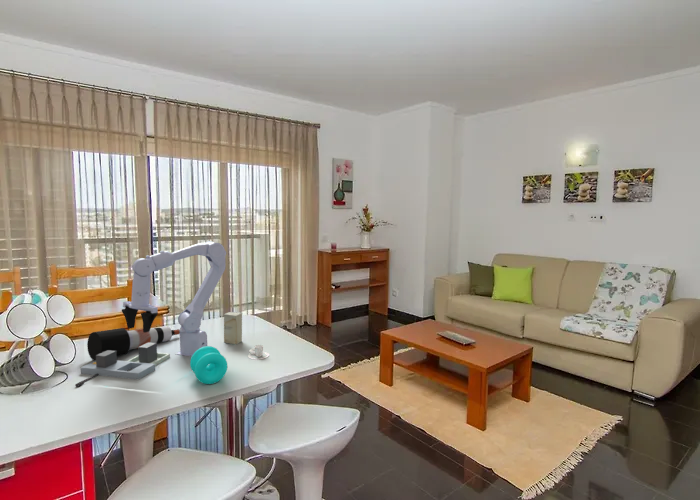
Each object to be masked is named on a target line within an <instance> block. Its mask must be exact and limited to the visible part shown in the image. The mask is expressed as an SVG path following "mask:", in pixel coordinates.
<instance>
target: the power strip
mask: <svg viewBox="0 0 700 500" xmlns="http://www.w3.org/2000/svg"><path fill="white" fill-rule="evenodd" d="M130 369H131V370H130ZM154 371H156V366H155V364H150V363H140V362H130V361H128V360H118V356H117V353H116V351H111V350H107V351H105V352H102V353H100V354H98V355H96V361H95V360H93V361H92V362H90V363H87V364H85V365H83V366H81V367H80V373H81V374H84V375H91V376H90V377H88V378H86V379H84V380H81V381H79V382H77V383H75V384H74V386H75V388H77V387H80V386H82V385H84V384H85V383H87V382H88V381H90V380H92V379H95V378H96V377H99V376H102V377H112V378H121V379H131V380H140V379H142V378H143V377H145V376H147V375H149V374H150V373H152V372H154Z"/></svg>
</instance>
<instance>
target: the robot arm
mask: <svg viewBox="0 0 700 500" xmlns="http://www.w3.org/2000/svg"><path fill="white" fill-rule="evenodd" d="M196 255H198V256H203V257H205V258H206V259H207V261H208V263H209V266H210V268H209V270H208V271H207V273H206V275H205V277H204V278H203V281H202V282H201V284H200V286H199V288H198V290H197V292H196V293H195V295H194V297H193V299H192V300H191V302H190V303H189V304H188V305H187V306H186V307H185V309H184V310H183V311H182V312H180V314H179V315H178V316H177V322H178V324H179V325H180V328H179V351H178V352H175V354H174V355H176V356H187V357H192V355H193V354H194V353H195V352H196V351H197V350H198V349H200V348H202V347H205V346H208V335H207V332H206V331H204V330H201V328H200V327H201V324H202V322H201V321H202V319H203V317H204V309H205V307H206V305H207V304H208V302H209V300H210V298H211V296H212V294H213V293H214V290H215V289H216V287H217V285H218V283H219V281H220V279H221V278H222V276H223V274H224V272H225V270H226V267H227V265H226V263H227V262H226V256H227V251H226V249H225V247H224V245H223V244H221V243H220V242H215V241H212V240H208V241H205V242H199V243H196V244H192V245H190V246H187V247H184V248H181V249H179V250H175V251H173V252H170V251H168V250H163V249H162V250H160V251H159V252H158V253H156V254H151V255H145V258H143V257H141V258H140V257H139V258H137V259H136V260H134V262H133V264H132V265H131V268H132V270H133V275H132V277H133V278H132V288H131V301H130V300H129V301H123V302H122V307H123V309H121V313H122V314H123V315H124V319H125V322H126V326H127V329H133V328H135V324H136V318H137V314H138V312H139V311H142V312H141V313H140V316H141V318H142V329H143V332H149V331H150V328H152V325H153V323H154V321H155V319H156V317H157V316H158V314H159V312H158V310H159V309H158V306H155V305H152V304H150V301H151V300H150V297H151V283H152V280H151V275H152V273H153V272H157V271H160V270H162V269H166V268H169V267H172V266H173V265H174V264H175V262H176V261H179V260H182V259H183V260H184V259H186V258H189V257H192V256H193V257H194V256H196Z"/></svg>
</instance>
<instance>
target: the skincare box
mask: <svg viewBox="0 0 700 500" xmlns="http://www.w3.org/2000/svg"><path fill="white" fill-rule="evenodd" d="M242 341H243V313H242V312H235V311H229V312H226V313H223V343H227V344H231V345H237V344H240V343H241V342H242Z"/></svg>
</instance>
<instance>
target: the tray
mask: <svg viewBox="0 0 700 500" xmlns="http://www.w3.org/2000/svg"><path fill="white" fill-rule="evenodd" d="M169 358H171V354H170V353H164V352H157V359H156V360H155V361H153V362H151V363H150V364H155V367H156V366H158V365H159V364H161V363H163V362H164V361H166V360H168V359H169ZM127 361H130V362H139V354H138V355H136V356H135V357H131V358H130V359H128V360H127Z"/></svg>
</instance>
